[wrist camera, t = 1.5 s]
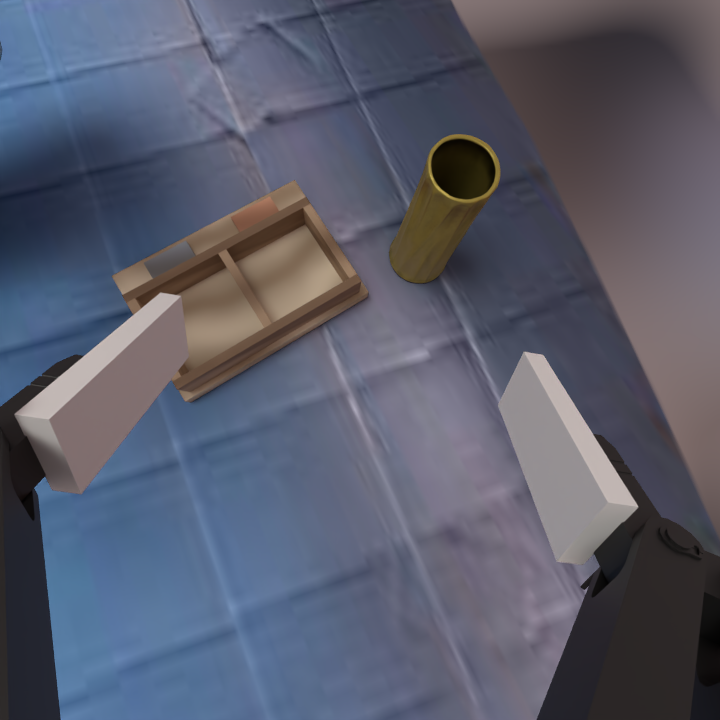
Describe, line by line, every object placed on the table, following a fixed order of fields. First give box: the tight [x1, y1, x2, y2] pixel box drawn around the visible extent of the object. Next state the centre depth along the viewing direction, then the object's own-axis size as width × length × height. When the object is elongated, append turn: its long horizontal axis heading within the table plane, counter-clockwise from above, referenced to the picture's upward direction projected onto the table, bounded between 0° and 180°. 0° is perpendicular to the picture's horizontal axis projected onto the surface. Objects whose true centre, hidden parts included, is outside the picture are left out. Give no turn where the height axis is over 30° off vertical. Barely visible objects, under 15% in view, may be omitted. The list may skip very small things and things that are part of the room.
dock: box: [112, 180, 369, 402], centre depth 36 cm, size 14×20×4 cm
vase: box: [389, 134, 500, 283], centre depth 33 cm, size 6×6×14 cm
